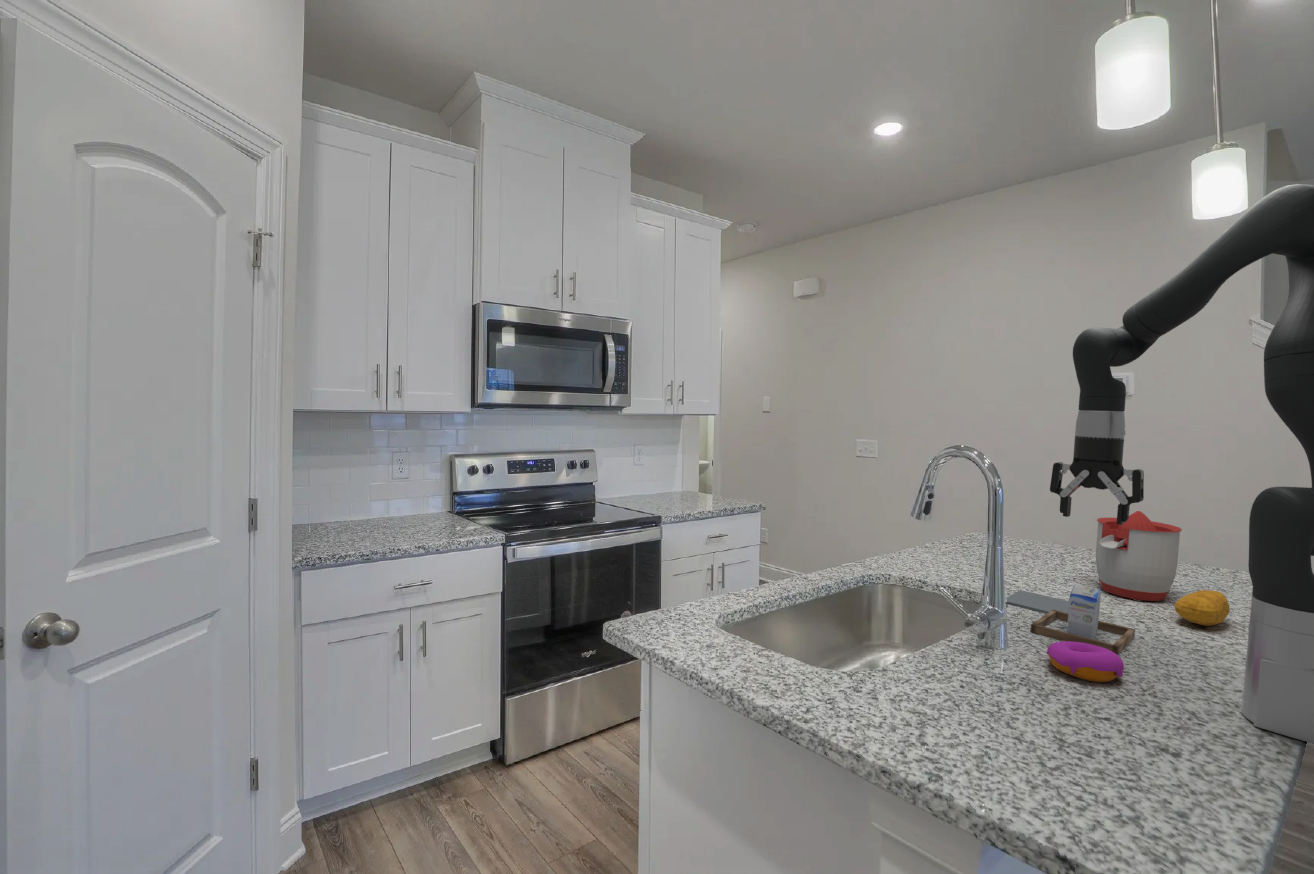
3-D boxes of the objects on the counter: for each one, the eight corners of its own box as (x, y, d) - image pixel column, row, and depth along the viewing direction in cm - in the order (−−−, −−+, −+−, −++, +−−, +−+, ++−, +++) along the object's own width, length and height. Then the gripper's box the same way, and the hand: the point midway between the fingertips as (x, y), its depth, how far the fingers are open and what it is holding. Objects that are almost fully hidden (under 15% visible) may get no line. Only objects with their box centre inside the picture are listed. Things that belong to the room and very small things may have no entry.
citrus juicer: (1070, 587, 147) (1076, 506, 146) (1122, 582, 152) (1128, 504, 151) (1138, 608, 132) (1145, 518, 131) (1193, 602, 138) (1200, 516, 136)
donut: (1120, 670, 100) (1122, 644, 100) (1125, 694, 92) (1127, 665, 92) (1046, 654, 106) (1048, 629, 106) (1045, 675, 98) (1047, 648, 97)
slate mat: (1064, 617, 125) (1064, 615, 125) (1001, 602, 134) (1001, 600, 134) (1080, 606, 133) (1080, 603, 133) (1020, 592, 142) (1020, 590, 142)
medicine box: (1070, 626, 120) (1073, 583, 120) (1097, 632, 118) (1101, 588, 117) (1066, 637, 114) (1069, 592, 114) (1095, 643, 111) (1098, 597, 111)
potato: (1237, 623, 124) (1240, 591, 124) (1214, 636, 117) (1217, 602, 117) (1189, 612, 131) (1191, 581, 131) (1165, 623, 124) (1167, 590, 123)
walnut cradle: (1117, 655, 106) (1117, 647, 106) (1030, 631, 116) (1031, 624, 116) (1134, 637, 115) (1135, 629, 115) (1052, 616, 125) (1053, 609, 125)
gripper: (1049, 433, 117) (1043, 516, 118) (1142, 438, 106) (1134, 529, 107) (1061, 432, 121) (1056, 512, 122) (1151, 437, 111) (1144, 524, 112)
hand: (1092, 520), depth 115 cm, fingers open, 8 cm apart
